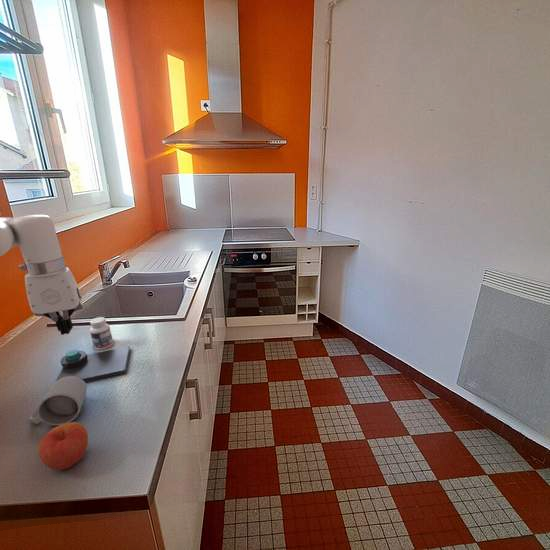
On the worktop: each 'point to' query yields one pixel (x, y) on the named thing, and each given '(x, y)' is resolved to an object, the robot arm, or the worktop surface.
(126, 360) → the scale
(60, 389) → the ceramic mug
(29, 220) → the robot arm
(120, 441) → the worktop surface
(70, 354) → the tare button
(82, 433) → the apple
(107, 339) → the pill bottle
